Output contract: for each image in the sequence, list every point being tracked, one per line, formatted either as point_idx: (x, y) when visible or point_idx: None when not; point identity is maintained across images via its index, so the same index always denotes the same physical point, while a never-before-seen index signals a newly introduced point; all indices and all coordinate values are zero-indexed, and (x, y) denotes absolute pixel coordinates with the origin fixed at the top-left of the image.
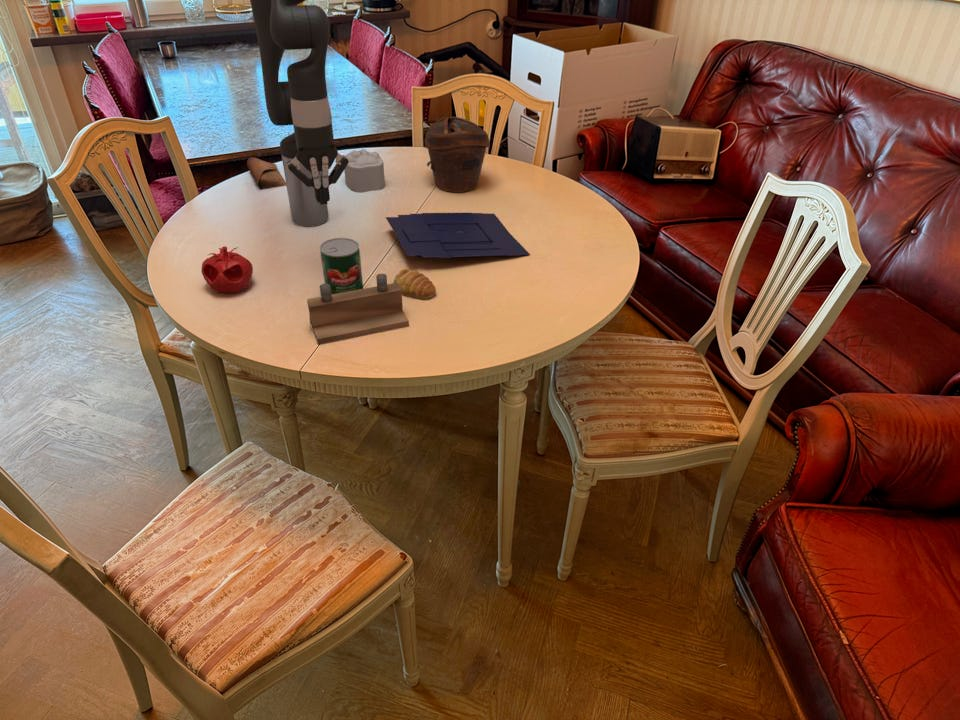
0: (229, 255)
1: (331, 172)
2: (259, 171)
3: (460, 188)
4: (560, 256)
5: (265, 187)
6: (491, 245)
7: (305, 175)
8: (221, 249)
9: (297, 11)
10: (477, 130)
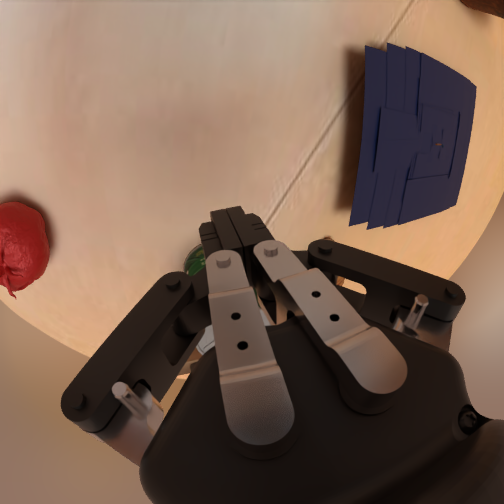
0: (2, 263)
1: (341, 273)
2: None
3: (467, 3)
4: (466, 213)
5: None
6: (444, 185)
7: (174, 319)
8: None
9: None
10: None
